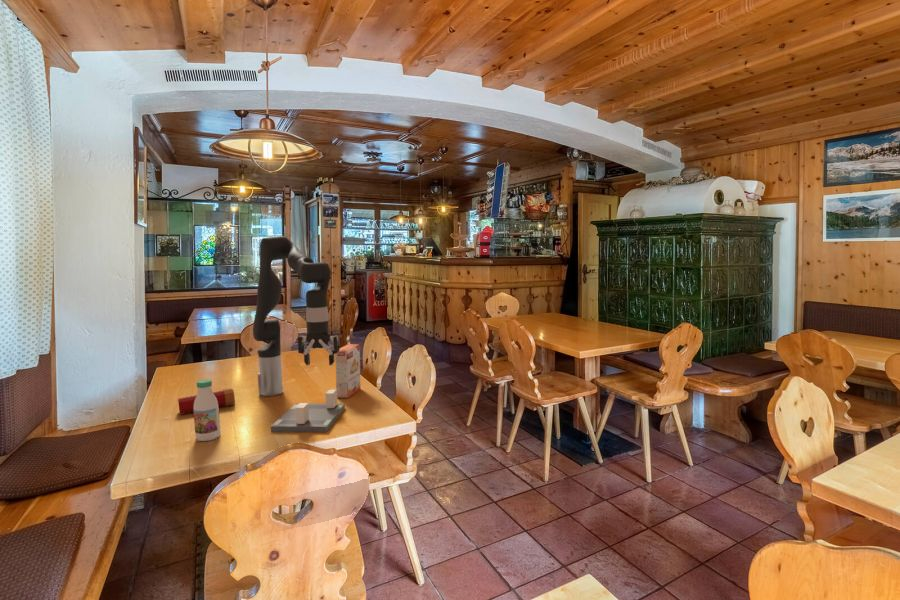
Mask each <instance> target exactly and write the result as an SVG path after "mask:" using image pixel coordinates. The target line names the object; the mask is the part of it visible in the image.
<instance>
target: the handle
mask: <svg viewBox="0 0 900 600" xmlns="http://www.w3.org/2000/svg"><path fill="white" fill-rule="evenodd" d="M325 403H326V408H334V407H335V406H336V405H337V404H338V397H337V390H336V388H335V389H328V391H326V392H325Z"/></svg>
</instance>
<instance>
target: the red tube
mask: <svg viewBox="0 0 900 600" xmlns="http://www.w3.org/2000/svg"><path fill="white" fill-rule="evenodd" d="M212 392H213V394H214V395H215V397H216V399H217V401H218V407H219V408H222V407H221V406H223V407H225V406H226V407H230V406H229V405H231V406H234V405H235V404H236V402H235V401H236V400H235V391H234V389H233V388H231V387H230V388H225V389H223V390H219V391H212ZM196 396H197V394H196V395H190V396H185V397H180V398H178V399H177V401H178V409H179V415H180V414H181V415H184V414H183V413H186V414H190V413H189V412H192V413H194V401H195V399H196Z"/></svg>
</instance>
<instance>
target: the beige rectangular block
mask: <svg viewBox="0 0 900 600" xmlns="http://www.w3.org/2000/svg"><path fill="white" fill-rule="evenodd" d="M295 416H296V424H305V422H306V421H307V420H308V419H309V409H308V402H300V404H299V405H297V406H296V407H295Z"/></svg>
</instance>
